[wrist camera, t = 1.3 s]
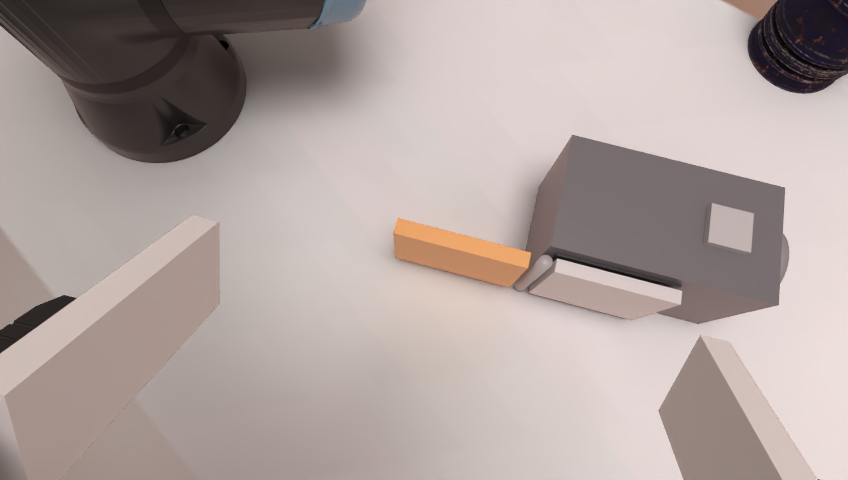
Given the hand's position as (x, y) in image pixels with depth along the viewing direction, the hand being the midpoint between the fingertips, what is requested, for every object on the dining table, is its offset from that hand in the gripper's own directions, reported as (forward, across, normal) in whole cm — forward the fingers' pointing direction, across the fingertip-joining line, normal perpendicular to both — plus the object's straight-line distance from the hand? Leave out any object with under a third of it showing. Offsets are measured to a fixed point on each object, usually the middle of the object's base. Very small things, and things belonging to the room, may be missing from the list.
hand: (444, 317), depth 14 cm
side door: (+27, +6, -14) cm, 31 cm away
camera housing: (+31, +16, -11) cm, 37 cm away
